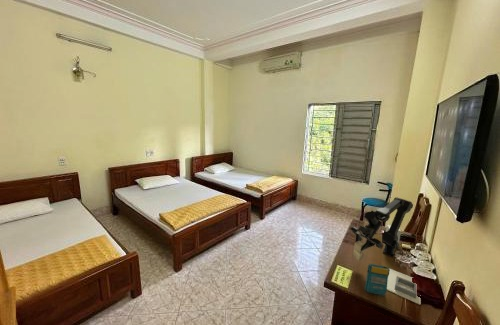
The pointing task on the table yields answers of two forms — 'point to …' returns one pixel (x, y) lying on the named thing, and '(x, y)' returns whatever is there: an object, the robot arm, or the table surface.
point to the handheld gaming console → (377, 279)
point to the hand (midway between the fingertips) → (357, 248)
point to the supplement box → (397, 233)
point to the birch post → (358, 250)
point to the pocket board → (402, 286)
